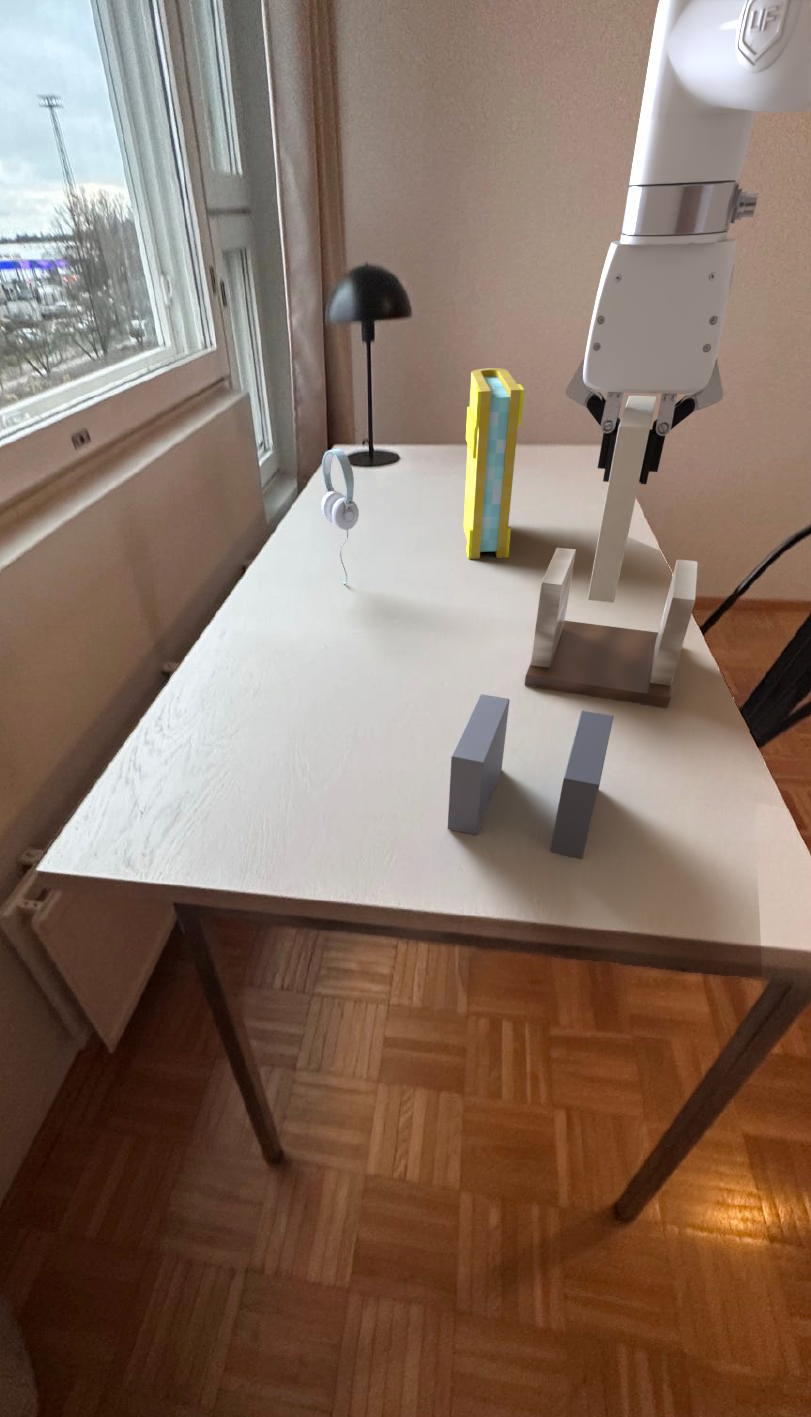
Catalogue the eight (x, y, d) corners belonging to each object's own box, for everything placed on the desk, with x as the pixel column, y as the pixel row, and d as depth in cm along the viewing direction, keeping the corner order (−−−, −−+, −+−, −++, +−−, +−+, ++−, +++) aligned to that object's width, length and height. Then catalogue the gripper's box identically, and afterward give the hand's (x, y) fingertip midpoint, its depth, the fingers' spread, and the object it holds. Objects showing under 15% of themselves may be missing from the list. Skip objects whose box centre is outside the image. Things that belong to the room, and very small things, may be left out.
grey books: (596, 787, 74) (613, 715, 68) (582, 859, 66) (599, 785, 60) (474, 763, 77) (480, 693, 72) (447, 828, 70) (451, 756, 64)
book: (508, 557, 119) (524, 389, 103) (468, 559, 120) (477, 391, 103) (495, 521, 132) (508, 367, 116) (459, 523, 132) (467, 369, 116)
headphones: (366, 590, 112) (361, 454, 99) (344, 596, 111) (336, 459, 98) (343, 572, 118) (336, 441, 105) (322, 577, 116) (311, 446, 103)
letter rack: (674, 644, 95) (699, 553, 87) (667, 707, 84) (695, 610, 76) (546, 628, 100) (559, 540, 92) (524, 685, 89) (536, 591, 81)
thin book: (623, 557, 74) (656, 396, 64) (613, 603, 66) (649, 427, 57) (599, 555, 75) (629, 395, 65) (587, 600, 67) (618, 425, 57)
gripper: (793, 210, 53) (720, 472, 65) (572, 218, 57) (542, 461, 69) (802, 215, 47) (721, 498, 59) (558, 223, 52) (529, 485, 64)
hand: (625, 476), depth 64 cm, fingers closed on thin book, 2 cm apart
